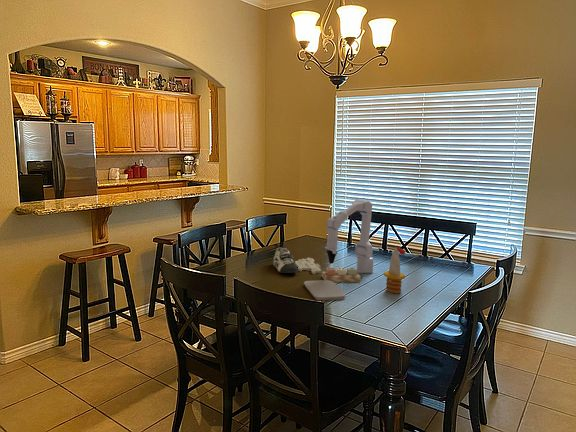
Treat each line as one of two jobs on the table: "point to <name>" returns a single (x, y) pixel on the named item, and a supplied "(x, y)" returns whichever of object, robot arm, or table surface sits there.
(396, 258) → the toy
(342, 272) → the cream studded block
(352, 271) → the button
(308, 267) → the decorative sign
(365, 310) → the table surface
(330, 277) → the button board
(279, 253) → the training shoe
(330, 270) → the button
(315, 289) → the tablet
